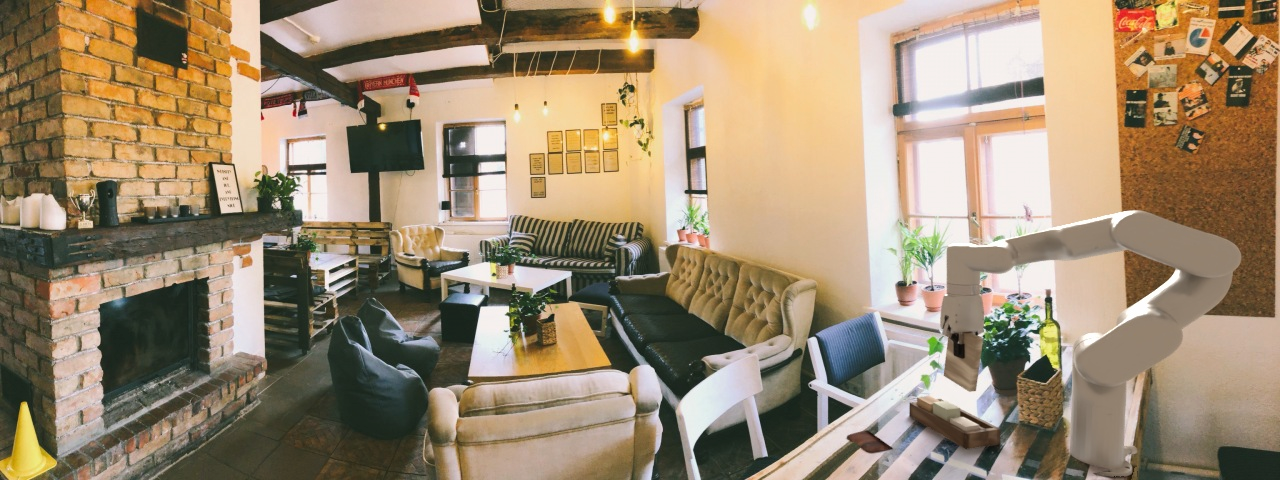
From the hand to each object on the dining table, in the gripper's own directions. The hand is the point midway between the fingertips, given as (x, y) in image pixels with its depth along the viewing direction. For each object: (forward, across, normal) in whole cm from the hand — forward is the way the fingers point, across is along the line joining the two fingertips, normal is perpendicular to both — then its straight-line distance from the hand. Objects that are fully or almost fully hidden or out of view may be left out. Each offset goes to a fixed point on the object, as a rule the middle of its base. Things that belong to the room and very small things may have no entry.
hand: (963, 356), depth 136 cm
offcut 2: (+20, +5, +6) cm, 22 cm away
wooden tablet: (+22, +18, -3) cm, 29 cm away
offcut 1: (+20, +5, -6) cm, 22 cm away
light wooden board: (+8, 0, -1) cm, 8 cm away
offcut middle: (+20, +5, 0) cm, 21 cm away
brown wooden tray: (+22, +4, 0) cm, 22 cm away
